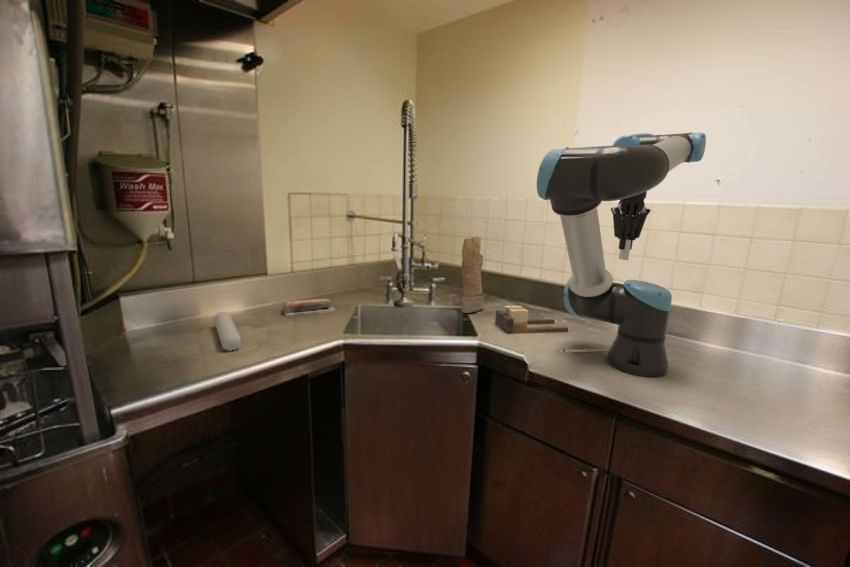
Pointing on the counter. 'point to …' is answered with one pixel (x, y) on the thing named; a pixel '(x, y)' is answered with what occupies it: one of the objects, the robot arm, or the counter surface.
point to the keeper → (517, 315)
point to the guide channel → (507, 323)
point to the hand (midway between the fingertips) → (623, 259)
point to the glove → (472, 275)
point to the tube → (227, 331)
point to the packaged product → (307, 307)
